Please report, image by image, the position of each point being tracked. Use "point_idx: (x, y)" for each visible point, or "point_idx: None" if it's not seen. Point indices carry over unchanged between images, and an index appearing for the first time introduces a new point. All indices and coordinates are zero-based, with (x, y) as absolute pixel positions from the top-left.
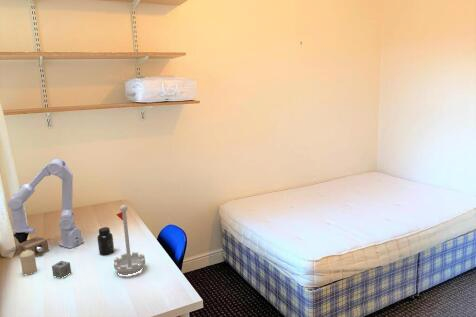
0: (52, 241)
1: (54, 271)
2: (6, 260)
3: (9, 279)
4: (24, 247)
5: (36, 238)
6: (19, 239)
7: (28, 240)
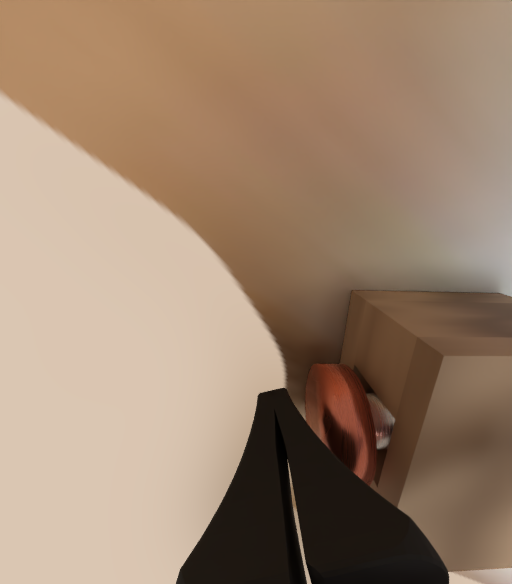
0: (377, 108)
1: None
2: (292, 502)
3: (498, 572)
4: (497, 559)
5: (492, 402)
6: (299, 546)
7: (416, 478)
